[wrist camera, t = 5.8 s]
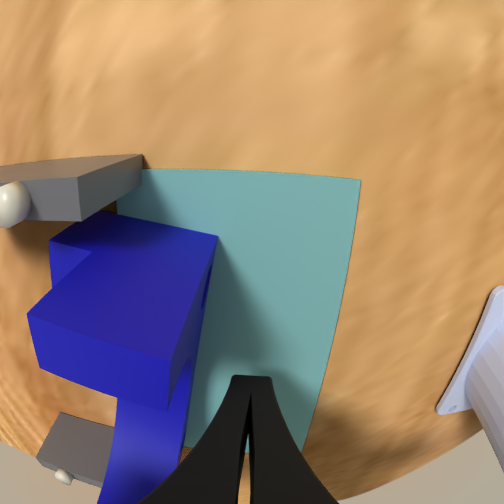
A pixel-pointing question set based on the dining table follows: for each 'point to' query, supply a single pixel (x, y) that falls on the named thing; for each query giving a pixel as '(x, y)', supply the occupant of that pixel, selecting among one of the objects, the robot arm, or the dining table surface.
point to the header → (69, 209)
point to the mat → (260, 278)
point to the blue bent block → (128, 335)
